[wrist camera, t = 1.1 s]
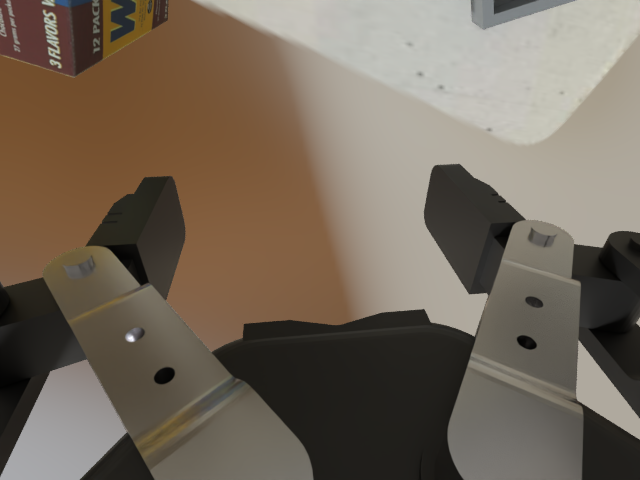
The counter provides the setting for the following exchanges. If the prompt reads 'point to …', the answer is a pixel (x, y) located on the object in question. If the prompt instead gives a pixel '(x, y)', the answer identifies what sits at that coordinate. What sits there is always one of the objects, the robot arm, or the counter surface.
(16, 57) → the protein box
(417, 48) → the counter surface
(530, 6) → the bin
